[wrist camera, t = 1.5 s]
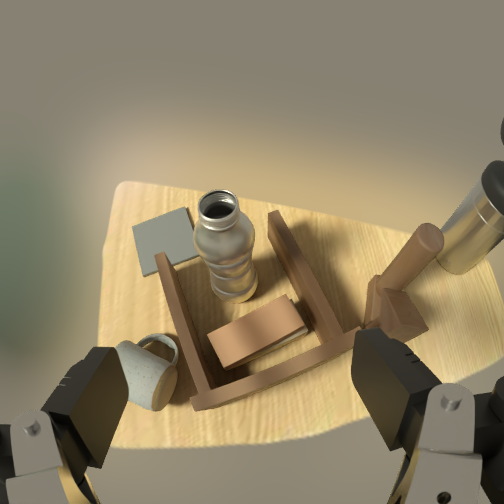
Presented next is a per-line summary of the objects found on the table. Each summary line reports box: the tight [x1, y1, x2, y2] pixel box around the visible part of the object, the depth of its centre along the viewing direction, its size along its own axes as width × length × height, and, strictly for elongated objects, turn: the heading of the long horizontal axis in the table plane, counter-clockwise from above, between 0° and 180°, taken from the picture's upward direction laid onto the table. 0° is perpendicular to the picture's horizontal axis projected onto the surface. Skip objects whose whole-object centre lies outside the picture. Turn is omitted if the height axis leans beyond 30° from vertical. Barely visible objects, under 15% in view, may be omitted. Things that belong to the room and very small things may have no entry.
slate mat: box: [132, 207, 200, 277], centre depth 48 cm, size 10×10×1 cm
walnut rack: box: [154, 210, 361, 411], centre depth 37 cm, size 18×22×12 cm
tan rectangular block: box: [207, 294, 308, 371], centre depth 38 cm, size 12×5×6 cm, turn 114°
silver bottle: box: [193, 189, 258, 303], centre depth 36 cm, size 6×7×20 cm
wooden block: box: [364, 223, 444, 343], centre depth 33 cm, size 4×11×18 cm, turn 166°
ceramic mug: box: [115, 334, 179, 412], centre depth 35 cm, size 11×8×8 cm
